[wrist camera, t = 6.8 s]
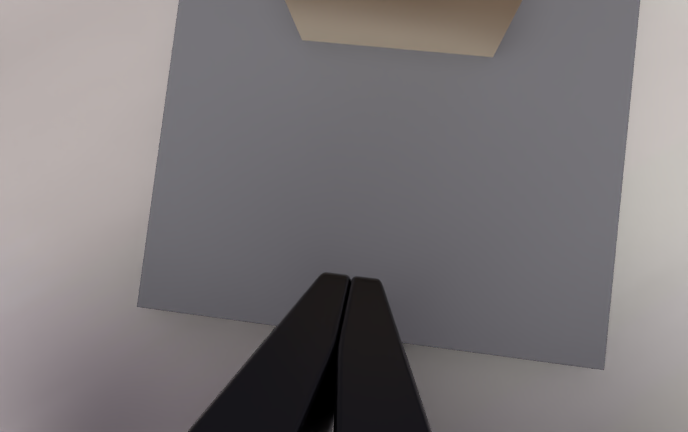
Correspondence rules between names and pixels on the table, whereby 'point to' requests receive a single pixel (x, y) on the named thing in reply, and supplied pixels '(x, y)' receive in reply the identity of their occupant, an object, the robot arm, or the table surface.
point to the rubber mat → (398, 175)
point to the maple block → (407, 23)
